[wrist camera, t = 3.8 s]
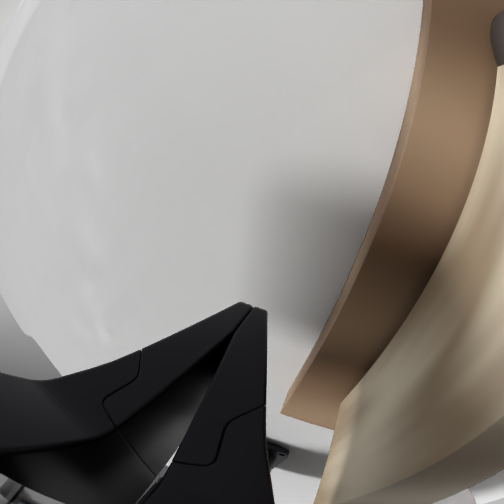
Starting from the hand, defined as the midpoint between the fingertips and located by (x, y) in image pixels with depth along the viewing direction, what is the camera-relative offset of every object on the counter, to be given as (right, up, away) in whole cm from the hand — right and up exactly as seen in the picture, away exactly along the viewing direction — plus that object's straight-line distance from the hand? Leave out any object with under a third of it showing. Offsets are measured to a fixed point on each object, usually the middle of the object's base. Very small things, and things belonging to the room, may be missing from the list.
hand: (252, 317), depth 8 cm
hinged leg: (+7, +2, -2) cm, 7 cm away
